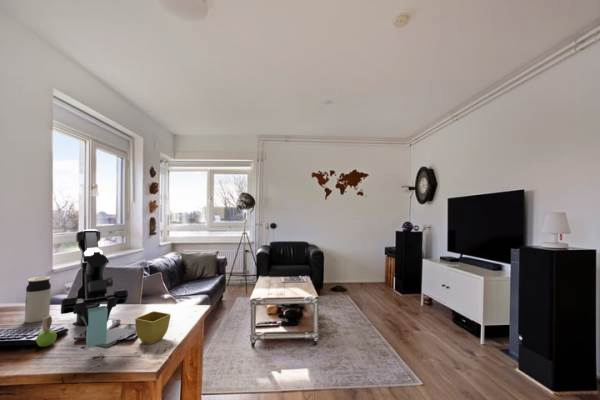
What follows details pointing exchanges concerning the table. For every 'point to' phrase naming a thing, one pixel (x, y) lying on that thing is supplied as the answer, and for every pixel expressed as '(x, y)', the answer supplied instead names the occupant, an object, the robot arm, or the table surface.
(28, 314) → the travel mug
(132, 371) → the table surface
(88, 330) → the block
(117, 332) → the coaster
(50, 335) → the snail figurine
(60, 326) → the table surface
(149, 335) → the flower pot
